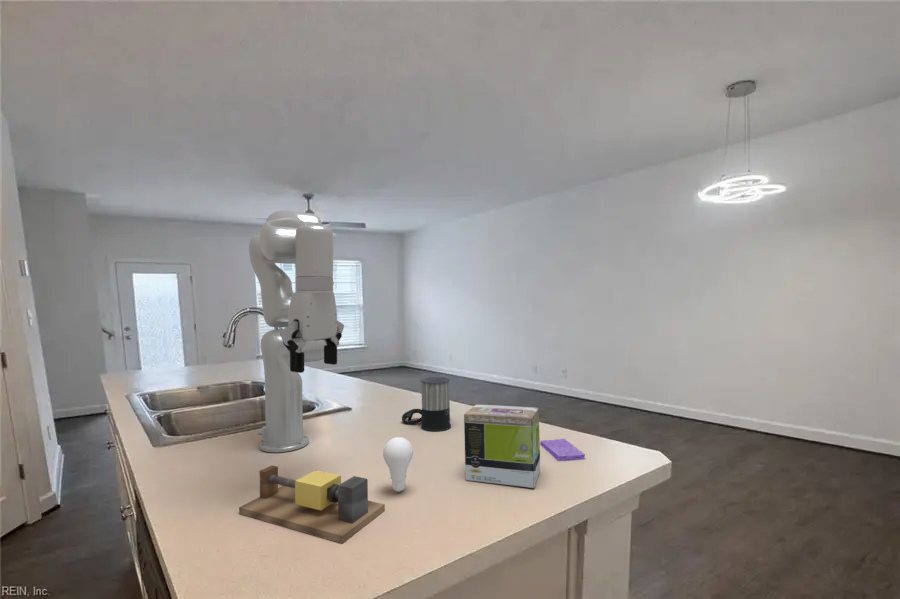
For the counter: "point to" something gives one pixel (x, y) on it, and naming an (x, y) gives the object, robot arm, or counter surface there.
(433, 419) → the milk frother
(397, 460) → the lightbulb
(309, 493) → the sleeve
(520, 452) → the tea box
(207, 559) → the counter surface
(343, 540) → the cable rail
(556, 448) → the sponges
